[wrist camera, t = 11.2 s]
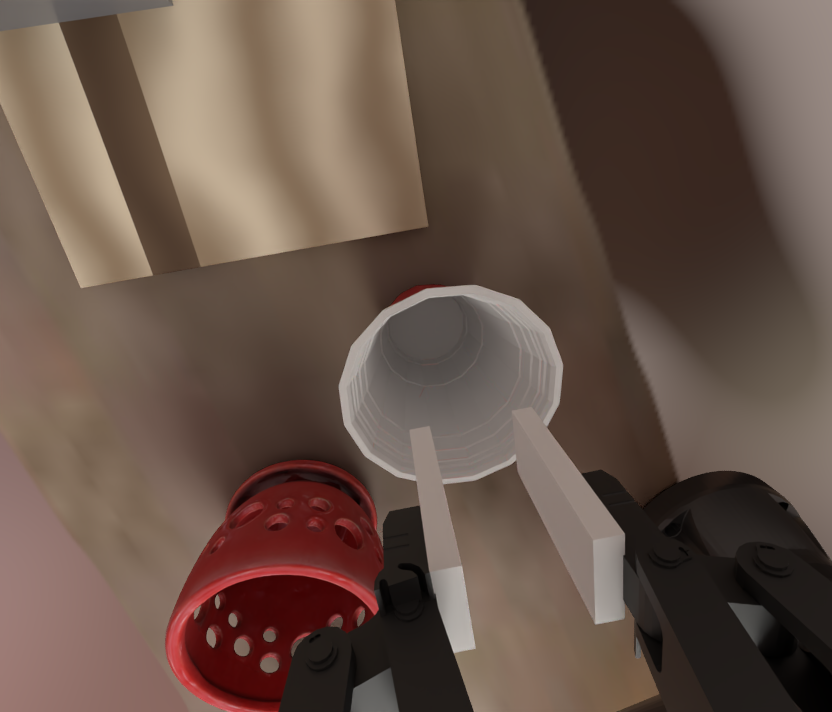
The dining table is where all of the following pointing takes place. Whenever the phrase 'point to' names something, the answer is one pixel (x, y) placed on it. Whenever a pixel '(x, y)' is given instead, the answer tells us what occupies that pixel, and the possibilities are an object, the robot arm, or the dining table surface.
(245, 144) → the plywood panel
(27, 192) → the dining table surface
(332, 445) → the dining table surface
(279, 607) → the plant pot
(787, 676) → the robot arm
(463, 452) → the plastic cup
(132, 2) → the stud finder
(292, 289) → the dining table surface
